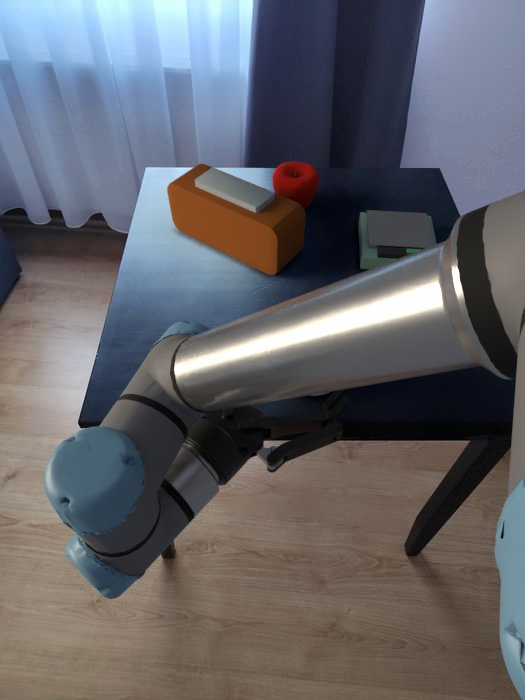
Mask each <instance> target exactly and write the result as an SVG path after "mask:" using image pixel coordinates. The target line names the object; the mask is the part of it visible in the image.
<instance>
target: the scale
mask: <svg viewBox="0 0 525 700" xmlns="http://www.w3.org/2000/svg"><path fill="white" fill-rule="evenodd" d="M427 216H428V221H429V226H430V231H431V236H432V241H433V245H436V244H437V239H436V235H435V234H436V233H435V230H434V224H433V219H432V215H427ZM357 225H358V243H359V267H360V268H359V269H360V270H370V269H372V268H375V267H378V266H380V265H383V264H386V263H388V262H391V261H394V260H396V259H399V258H401V257H404V256H407V255H409V254H412V253H415V252H417V251H420V250H423V249H410V248H393V247H378V248H376V247H368V233H367V217H366V211H364V212H362V211H361V212H360V213H359V217H358V224H357Z"/></svg>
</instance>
